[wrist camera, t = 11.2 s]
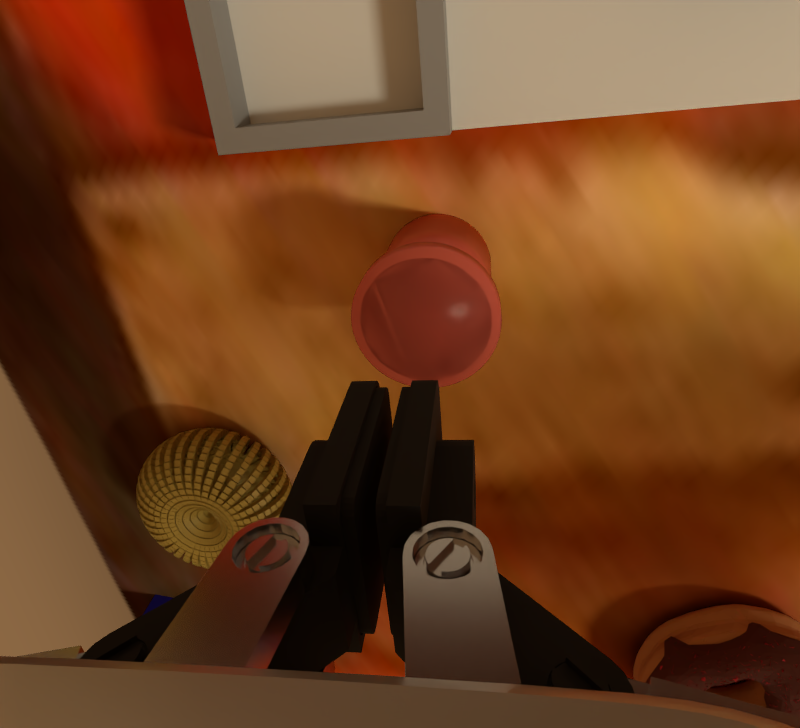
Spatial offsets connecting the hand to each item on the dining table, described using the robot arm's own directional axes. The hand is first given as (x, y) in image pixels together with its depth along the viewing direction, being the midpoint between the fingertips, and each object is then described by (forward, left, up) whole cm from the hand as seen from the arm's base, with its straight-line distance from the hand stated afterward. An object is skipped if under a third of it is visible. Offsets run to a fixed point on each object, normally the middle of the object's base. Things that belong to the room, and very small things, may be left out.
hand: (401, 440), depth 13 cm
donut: (-14, +24, -14) cm, 31 cm away
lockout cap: (0, 0, -14) cm, 14 cm away
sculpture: (+12, +12, -14) cm, 22 cm away
